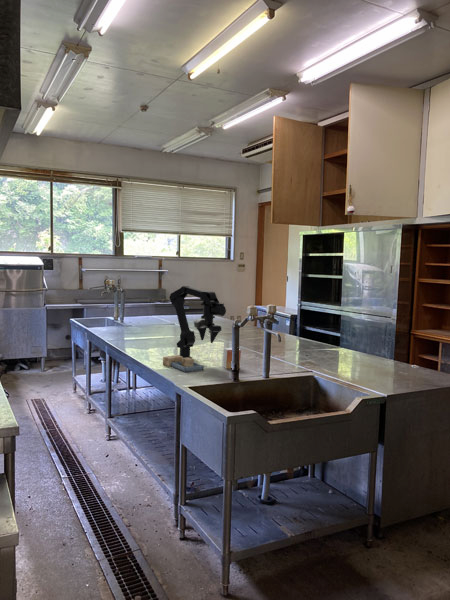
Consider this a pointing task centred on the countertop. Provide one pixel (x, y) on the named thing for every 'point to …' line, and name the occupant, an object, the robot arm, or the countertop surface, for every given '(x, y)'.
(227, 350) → the small box
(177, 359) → the oak cube
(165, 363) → the oak cube
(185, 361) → the oak cube
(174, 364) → the tray
